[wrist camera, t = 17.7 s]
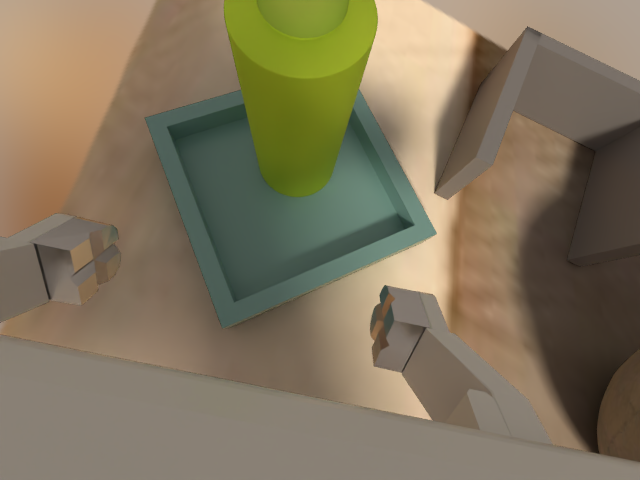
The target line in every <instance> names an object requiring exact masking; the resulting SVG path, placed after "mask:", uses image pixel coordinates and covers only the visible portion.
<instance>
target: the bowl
mask: <svg viewBox="0 0 640 480" xmlns="http://www.w3.org/2000/svg"><path fill="white" fill-rule="evenodd" d="M597 438H598V449H599V454H602V455H607V456H612V457H617V458H622V459H627V460H632V461H637V462H640V349H639V350H638V351H636V352H635V353H634V354H633V355H632V356H631V357H629V358H628V359H627V360H626V361H625V362H624V363H623V364H622V365H621V366H620V367H619V369H618V370H617V371H616V372H615V373H614V375H613V377H612V379H611V381H610V383H609V385H608V387H607V389H606V391H605V394H604V397H603V399H602V402H601V406H600V410H599V417H598V424H597Z"/></svg>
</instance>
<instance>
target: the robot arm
mask: <svg viewBox="0 0 640 480" xmlns="http://www.w3.org/2000/svg"><path fill="white" fill-rule="evenodd" d="M118 239H119V237H118V231H117V228H115V227H114V226H113V225H110V224H106V223H102V222H97V221H93V220H89V219H85V218H81V217H77V216H72V215H67V214H63V213H55V214H54V215H52V216H50V217H48V218H46V219H44V220H42V221H40V222H38V223H36V224H34V225H32V226H30V227H28V228H26V229H24V230H22V231H20V232H18V233H16V234H14V235H12V236H10V237H9V238H4V237H0V323H1V322H3V321H6V320H8V319H10V318H13V317H15V316H17V315H19V314H22V313H24V312H26V311H29V310H31V309H33V308H36V307H38V306H40V305H43V304H45V303H47V302H49V300H51V301H57V302H63V303H68V304H74V305H79V306H82V305H83V304H84V303H85V302H86V301H87V300H89V299H90V298H91V297H92V296H93V295H94V294H95V293H96V292H97V291H98V285H99V284H102V283H104V282H107V281H109V280H110V279H111V278H112V277H113V276H114V275H115V274H116V272H117V270H118V268H119V266H120V261H121V255H120V251H119V249H118V248H117V247H116V246H115V242H116V241H117V240H118ZM380 302H381V303H380V304H378V305H377V306H375V308H374V311H373V314H372V318H371V323H370V334H371V337H372V338H373V340H374V344H373V346H372V354H373V363H374V366H375V367H380V368H384V369H388V370H392V371H397V372H401V373H402V375H403V377H404V378H405V380H406V381H407V383H408V384H409V386H410V387H411V389H412V390H413V392H414V393H415V395H416V396H417V398H418V399H419V401H420V402H421V404H422V405H423V407H424V408H425V409H426V411H427V412H428V414H429V415H430V417H431V418H432V420H433V421H432V420H427V419H422V418H417V417H412V416H407V415H402V414H397V413H391V412H386V411H381V410H376V409H371V408H366V407H361V406H356V405H351V404H346V403H341V402H336V401H331V400H326V399H321V398H316V397H311V396H306V395H301V394H296V393H291V392H286V391H281V390H276V389H271V388H266V387H261V386H256V385H251V384H246V383H241V382H236V381H231V380H226V379H221V378H216V377H211V376H206V375H201V374H196V373H191V372H186V371H181V370H176V369H171V368H166V367H161V366H156V365H151V364H146V363H141V362H136V361H131V360H126V359H121V358H116V357H111V356H106V355H101V354H96V353H91V352H86V351H81V350H76V349H71V348H66V347H61V346H56V345H51V344H46V343H41V342H36V341H31V340H26V339H21V338H15V337H10V336H5V335H0V480H640V462H637V461H632V460H627V459H622V458H617V457H612V456H607V455H602V454H597V453H592V452H587V451H582V450H577V449H572V448H567V447H562V446H557V445H553V444H552V442H551V440H550V438H549V436H548V435H547V433H546V431H545V429H544V427H543V425H542V424H541V422H540V420H539V418H538V416H537V415H536V413H535V411H534V409H533V407H532V405H531V404H530V402H529V400H528V399H527V398H526V397H525V396H524V395H522V394H521V393H520V392H519V391H518V390H517V389H516V388H515V387H514V386H512V385H511V384H510V383H509V382H508V381H507V380H506V379H505V378H504V377H502V376H501V375H500V374H499V373H498V372H497V371H496V370H495V369H493V368H492V367H491V366H490V365H489V364H488V363H487V362H486V361H485V360H483V359H482V358H481V357H480V356H479V355H478V354H477V353H476V352H475V351H473V350H472V349H471V348H470V347H469V346H468V345H467V344H466V343H465V342H463V341H462V340H461V339H460V338H459V337H458V336H457V335H456V334H453V333H450V332H449V329H448V327H447V324H446V322H445V320H444V317H443V315H442V312H441V310H440V307H439V305H438V302H437V300H436V297H435V296H434V295H433V294H428V293H423V292H418V291H417V292H416V291H411V290H406V289H401V288H396V287H391V286H386V285H385V286H384V287H383V289H382V291H381V293H380Z"/></svg>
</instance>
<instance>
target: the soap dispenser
mask: <svg viewBox="0 0 640 480" xmlns="http://www.w3.org/2000/svg"><path fill="white" fill-rule="evenodd" d="M224 18H225V23H226V27H227V31H228V36H229V40H230V44H231V48H232V53H233V57H234V61H235V66H236V70H237V74H238V78H239V83H240V87H241V91H242V95H243V100H244V104H245V108H246V113H247V117H248V121H249V125H250V130H251V134H252V138H253V142H254V147H255V151H256V155H257V160H258V164H259V168H260V172H261V174H262V176H263V178H264V180H265V181H266V183H267V184H268V185H269V186H270V187H271V188H273V189H274V190H275V191H277V192H279V193H281V194H283V195H286V196H291V197H304V196H309V195H312V194H314V193H316V192H318V191H319V190H321V189H322V188H323V187H324V186H325V185H326V184H327V183H328V181H329V180H330V178H331V176H332V173H333V170H334V167H335V163H336V160H337V157H338V154H339V151H340V147H341V144H342V141H343V138H344V134H345V131H346V128H347V125H348V122H349V118H350V115H351V112H352V109H353V106H354V102H355V99H356V96H357V93H358V89H359V86H360V83H361V80H362V77H363V73H364V70H365V67H366V64H367V61H368V57H369V54H370V51H371V48H372V44H373V41H374V38H375V35H376V31H377V23H378V16H377V8H376V4H375V1H374V0H224Z"/></svg>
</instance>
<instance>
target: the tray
mask: <svg viewBox="0 0 640 480" xmlns="http://www.w3.org/2000/svg"><path fill="white" fill-rule="evenodd" d="M145 120H146V123H147V125H148V128H149V131H150V133H151V136H152V139H153V142H154V144H155V147H156V150H157V152H158V155H159V158H160V161H161V163H162V166H163V169H164V171H165V174H166V177H167V180H168V182H169V185H170V188H171V190H172V193H173V196H174V199H175V201H176V204H177V207H178V209H179V212H180V215H181V218H182V220H183V223H184V226H185V229H186V231H187V234H188V237H189V239H190V242H191V245H192V248H193V250H194V253H195V256H196V258H197V261H198V264H199V267H200V269H201V272H202V275H203V277H204V280H205V283H206V286H207V288H208V291H209V294H210V296H211V299H212V302H213V305H214V307H215V310H216V313H217V315H218V318H219V321H220V324H221V326H222V328H230V327H233V326H235V325H237V324H239V323H242V322H244V321H246V320H248V319H251V318H253V317H255V316H257V315H260V314H262V313H264V312H266V311H269V310H271V309H273V308H275V307H278V306H280V305H282V304H285V303H287V302H289V301H291V300H294V299H296V298H298V297H300V296H303V295H305V294H307V293H309V292H312V291H314V290H316V289H318V288H321V287H323V286H325V285H327V284H330V283H332V282H334V281H336V280H339V279H341V278H343V277H346V276H348V275H350V274H352V273H355V272H357V271H359V270H361V269H364V268H366V267H368V266H370V265H373V264H375V263H377V262H379V261H382V260H384V259H386V258H388V257H391V256H393V255H395V254H397V253H400V252H402V251H404V250H407V249H409V248H411V247H413V246H416V245H418V244H420V243H422V242H424V241H426V240H427V239H429V238H431V237H432V236H434V235H436V234H437V233H436V231H435V229H434V227H433V226H432V224H431V222H430V220H429V218H428V216H427V214H426V213H425V211H424V209H423V207H422V205H421V203H420V201H419V200H418V198H417V196H416V194H415V192H414V190H413V188H412V187H411V185H410V183H409V181H408V179H407V177H406V175H405V174H404V172H403V170H402V168H401V166H400V164H399V162H398V161H397V159H396V157H395V155H394V153H393V151H392V149H391V148H390V146H389V144H388V142H387V140H386V138H385V136H384V135H383V133H382V131H381V129H380V127H379V125H378V123H377V122H376V120H375V118H374V116H373V114H372V112H371V110H370V109H369V107H368V105H367V103H366V101H365V99H364V97H363V96H362V94H361V92H360V90H359V89H358V93H357V96H356V99H355V102H354V106H353V109H352V112H351V115H350V118H349V122H348V125H347V128H346V131H345V134H344V138H343V141H342V144H341V147H340V151H339V154H338V157H337V160H336V163H335V167H334V170H333V173H332V176H331V178H330V180H329V181H328V183H327V184H326V185H325V186H324V187H323V188H322V189H321V190H319V191H318V192H316V193H314V194H312V195H309V196H304V197H291V196H286V195H283V194H281V193H279V192H277V191H275V190H274V189H273V188H271V187H270V186H269V185H268V184H267V183H266V181H265V180H264V178H263V176H262V174H261V172H260V168H259V164H258V160H257V155H256V151H255V147H254V142H253V138H252V134H251V130H250V125H249V121H248V117H247V113H246V108H245V104H244V100H243V95H242V91H241V90H239V91H235V92H232V93H229V94H225V95H222V96H218V97H215V98H211V99H208V100H204V101H201V102H198V103H194V104H191V105H187V106H184V107H180V108H177V109H173V110H170V111H167V112H163V113H160V114H156V115H153V116H149V117H146V118H145Z"/></svg>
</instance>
